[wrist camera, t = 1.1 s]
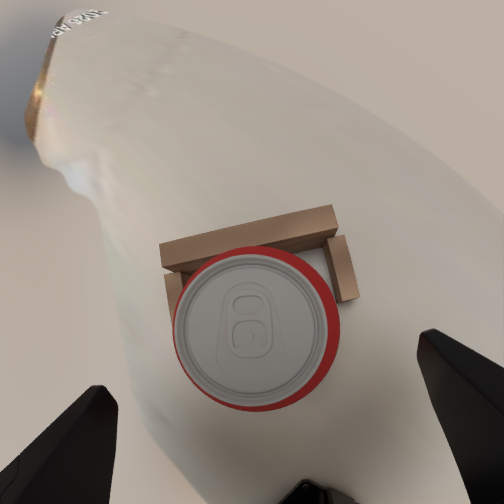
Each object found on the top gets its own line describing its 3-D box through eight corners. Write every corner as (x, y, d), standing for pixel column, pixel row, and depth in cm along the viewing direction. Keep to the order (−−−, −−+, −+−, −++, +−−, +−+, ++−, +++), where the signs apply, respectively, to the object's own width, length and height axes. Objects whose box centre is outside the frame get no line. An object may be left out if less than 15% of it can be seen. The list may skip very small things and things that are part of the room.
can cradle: (352, 299, 22) (367, 294, 17) (185, 334, 23) (162, 336, 18) (333, 223, 23) (342, 202, 19) (173, 259, 24) (149, 246, 20)
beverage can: (224, 373, 22) (161, 421, 10) (221, 281, 23) (155, 241, 12) (319, 369, 21) (350, 419, 9) (314, 275, 23) (340, 227, 11)
